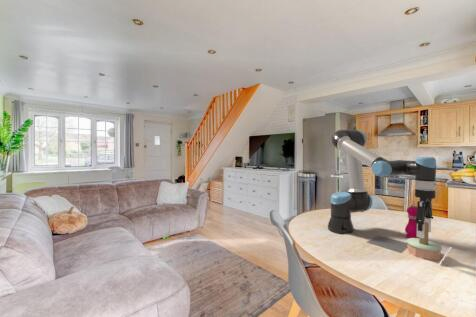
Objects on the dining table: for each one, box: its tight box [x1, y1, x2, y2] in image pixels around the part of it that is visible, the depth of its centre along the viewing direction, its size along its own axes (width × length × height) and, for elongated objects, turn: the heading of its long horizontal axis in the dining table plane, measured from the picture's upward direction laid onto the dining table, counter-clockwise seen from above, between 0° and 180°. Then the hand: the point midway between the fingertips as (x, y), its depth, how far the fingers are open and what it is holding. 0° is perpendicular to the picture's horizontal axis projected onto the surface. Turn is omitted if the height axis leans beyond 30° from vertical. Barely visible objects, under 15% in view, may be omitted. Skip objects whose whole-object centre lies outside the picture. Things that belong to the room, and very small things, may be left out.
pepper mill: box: [404, 203, 419, 239], centre depth 126 cm, size 7×7×20 cm
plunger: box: [406, 222, 443, 251], centre depth 107 cm, size 13×13×11 cm
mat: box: [366, 234, 407, 254], centre depth 120 cm, size 16×16×1 cm
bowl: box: [406, 242, 442, 261], centre depth 107 cm, size 12×12×5 cm
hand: (423, 234), depth 107 cm, fingers open, 11 cm apart
